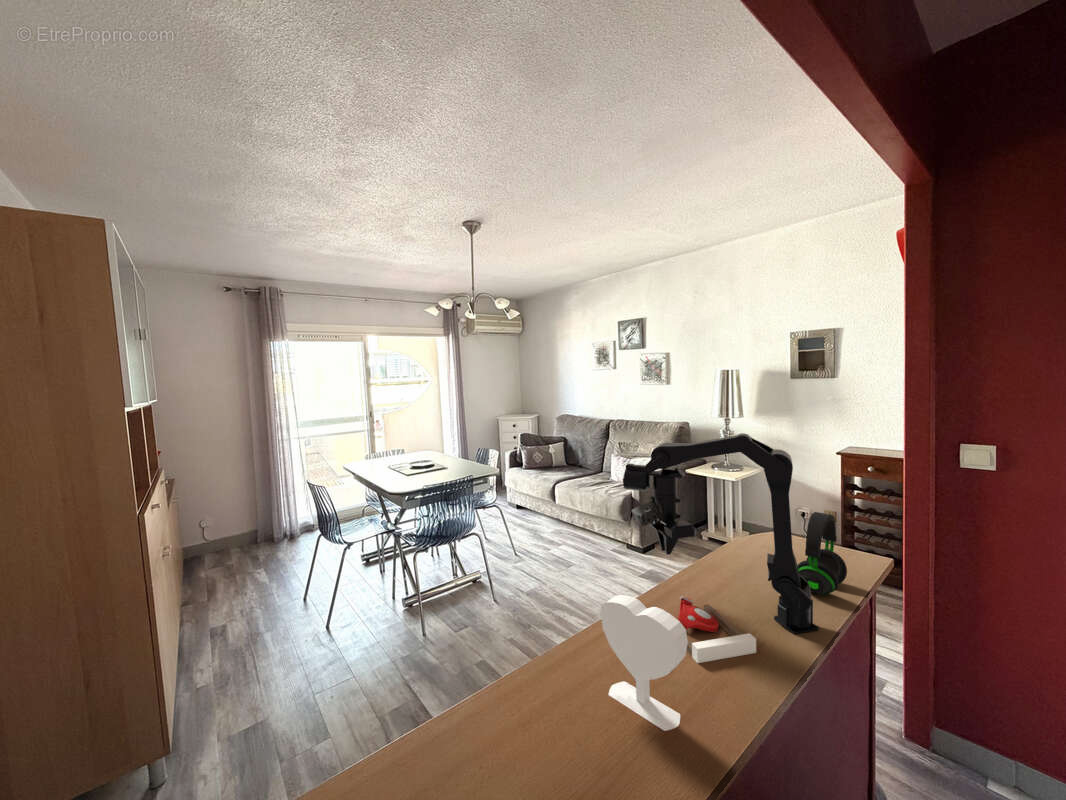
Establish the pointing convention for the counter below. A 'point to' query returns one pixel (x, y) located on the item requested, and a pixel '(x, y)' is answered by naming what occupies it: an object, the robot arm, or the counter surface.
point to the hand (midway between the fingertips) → (666, 552)
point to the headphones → (822, 556)
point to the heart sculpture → (644, 653)
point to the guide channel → (722, 642)
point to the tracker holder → (696, 617)
